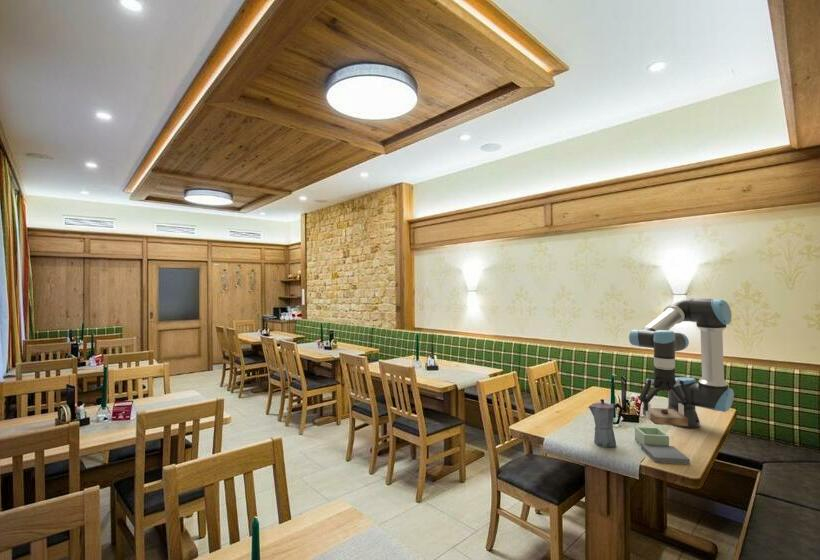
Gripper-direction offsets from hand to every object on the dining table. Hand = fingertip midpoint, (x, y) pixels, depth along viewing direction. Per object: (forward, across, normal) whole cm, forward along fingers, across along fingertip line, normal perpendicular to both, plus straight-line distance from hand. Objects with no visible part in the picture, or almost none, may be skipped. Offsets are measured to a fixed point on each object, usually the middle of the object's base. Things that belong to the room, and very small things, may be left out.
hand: (664, 419), depth 167 cm
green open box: (+15, 0, -12) cm, 19 cm away
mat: (+15, 0, 0) cm, 15 cm away
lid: (0, 0, 0) cm, 0 cm away
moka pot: (+15, +20, -10) cm, 27 cm away
